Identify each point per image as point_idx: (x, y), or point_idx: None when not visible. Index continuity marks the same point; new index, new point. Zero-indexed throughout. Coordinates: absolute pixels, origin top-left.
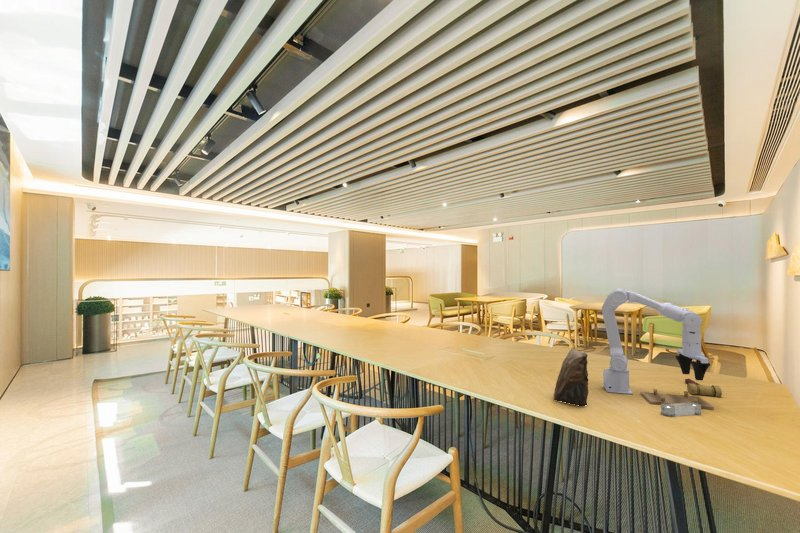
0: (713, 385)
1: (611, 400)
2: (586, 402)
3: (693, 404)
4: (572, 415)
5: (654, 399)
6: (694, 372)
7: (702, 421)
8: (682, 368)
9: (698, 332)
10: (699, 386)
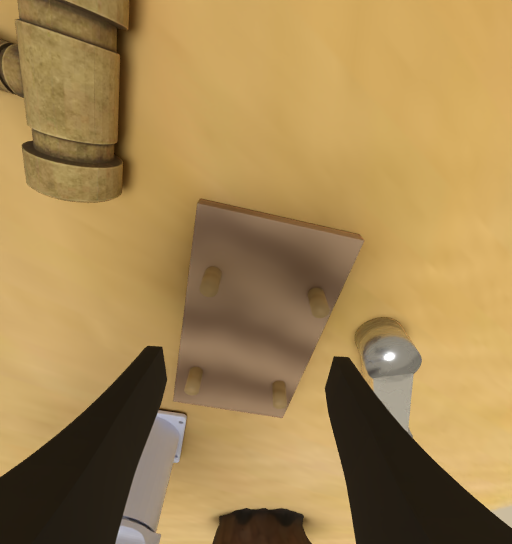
0: None
1: (254, 470)
2: (291, 519)
3: (396, 367)
4: (349, 537)
5: (262, 400)
6: (346, 465)
7: (455, 356)
8: (147, 435)
9: None
10: (78, 139)
